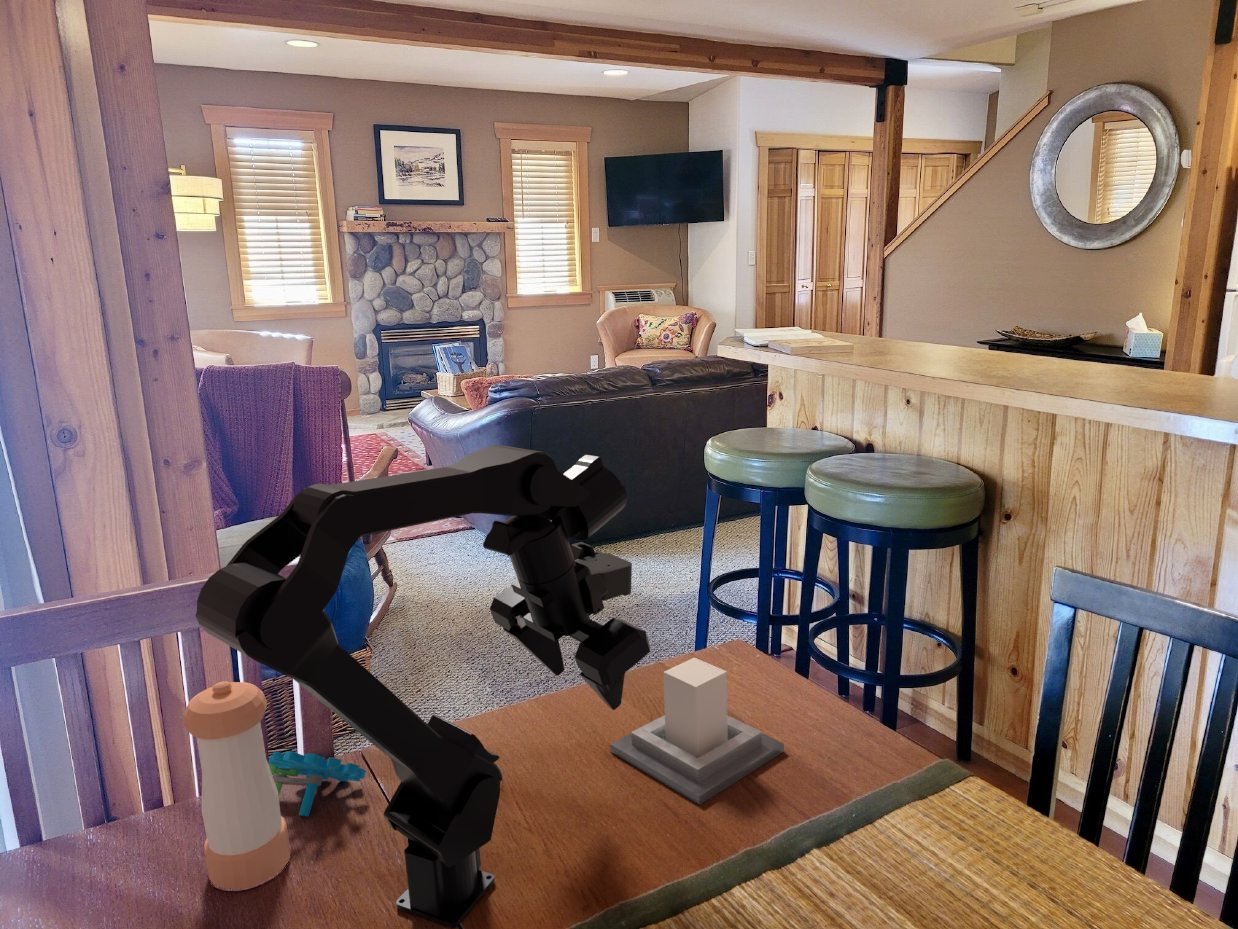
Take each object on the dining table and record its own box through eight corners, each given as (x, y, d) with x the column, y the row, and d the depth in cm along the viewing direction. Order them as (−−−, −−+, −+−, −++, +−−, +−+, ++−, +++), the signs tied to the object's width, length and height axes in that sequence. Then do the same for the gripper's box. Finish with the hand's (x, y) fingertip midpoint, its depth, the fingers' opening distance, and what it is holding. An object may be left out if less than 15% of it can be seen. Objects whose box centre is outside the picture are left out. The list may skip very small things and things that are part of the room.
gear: (385, 770, 94) (328, 746, 87) (371, 828, 91) (311, 808, 83) (305, 766, 98) (244, 743, 91) (289, 821, 95) (224, 802, 88)
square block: (697, 761, 95) (695, 687, 93) (665, 744, 98) (663, 672, 96) (727, 744, 98) (726, 671, 96) (695, 727, 102) (694, 657, 99)
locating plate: (699, 805, 89) (698, 783, 88) (610, 751, 99) (609, 732, 98) (784, 751, 98) (784, 731, 97) (694, 707, 108) (694, 689, 107)
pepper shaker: (291, 878, 80) (264, 692, 76) (206, 902, 78) (172, 710, 73) (290, 833, 87) (264, 658, 83) (211, 853, 84) (180, 674, 80)
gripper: (671, 548, 79) (704, 676, 86) (550, 503, 93) (587, 617, 100) (583, 615, 73) (625, 747, 80) (467, 557, 87) (512, 673, 94)
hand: (587, 689), depth 89 cm, fingers open, 9 cm apart
